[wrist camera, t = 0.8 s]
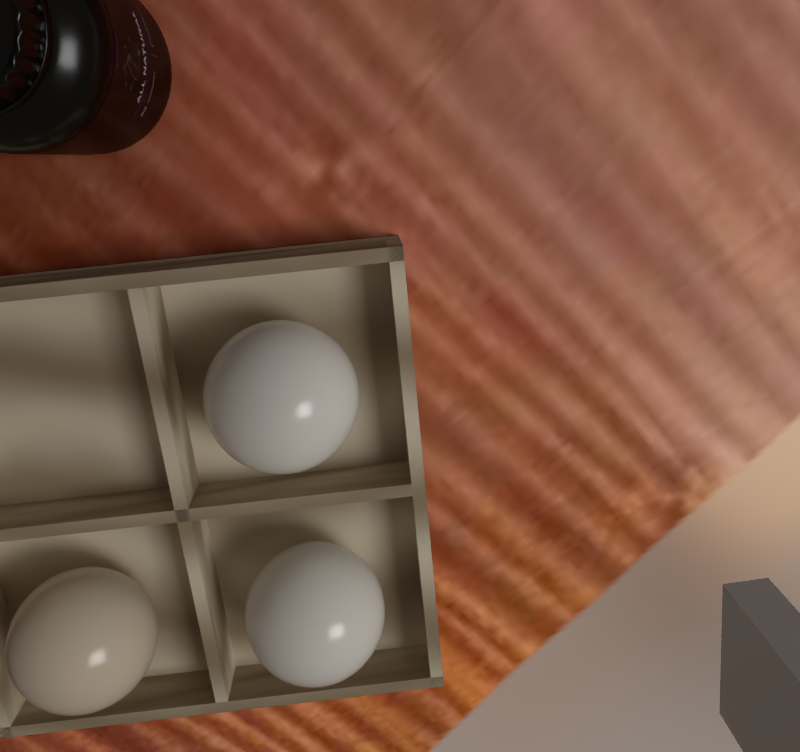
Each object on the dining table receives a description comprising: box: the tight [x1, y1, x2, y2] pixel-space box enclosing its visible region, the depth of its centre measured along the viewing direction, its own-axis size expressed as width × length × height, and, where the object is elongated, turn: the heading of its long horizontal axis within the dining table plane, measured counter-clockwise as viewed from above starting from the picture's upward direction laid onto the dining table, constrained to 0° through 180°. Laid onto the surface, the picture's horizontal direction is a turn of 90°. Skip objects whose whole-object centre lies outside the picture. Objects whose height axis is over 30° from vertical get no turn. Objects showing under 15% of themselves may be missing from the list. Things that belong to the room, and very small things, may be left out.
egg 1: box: [5, 567, 158, 716], centre depth 33 cm, size 6×6×6 cm
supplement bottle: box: [0, 0, 172, 155], centre depth 24 cm, size 7×7×12 cm
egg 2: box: [203, 320, 359, 474], centre depth 30 cm, size 6×6×6 cm
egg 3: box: [245, 541, 385, 688], centre depth 33 cm, size 6×6×6 cm
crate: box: [0, 235, 444, 738], centre depth 34 cm, size 22×22×4 cm
